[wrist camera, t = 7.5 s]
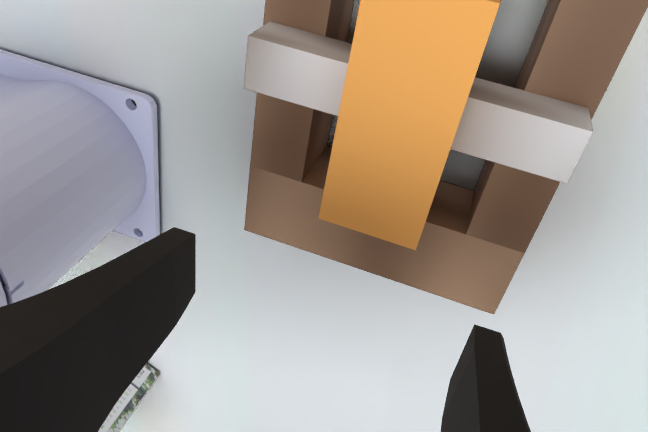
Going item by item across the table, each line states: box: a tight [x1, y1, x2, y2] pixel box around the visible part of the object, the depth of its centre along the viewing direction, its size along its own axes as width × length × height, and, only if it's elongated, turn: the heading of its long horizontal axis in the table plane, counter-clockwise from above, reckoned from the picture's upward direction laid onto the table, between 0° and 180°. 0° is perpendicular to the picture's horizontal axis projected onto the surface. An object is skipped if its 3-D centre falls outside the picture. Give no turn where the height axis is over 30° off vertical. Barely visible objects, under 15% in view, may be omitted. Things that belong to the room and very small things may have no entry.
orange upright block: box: [318, 0, 501, 250], centre depth 16 cm, size 3×7×6 cm, turn 171°
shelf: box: [244, 0, 648, 314], centre depth 17 cm, size 10×15×5 cm, turn 171°
